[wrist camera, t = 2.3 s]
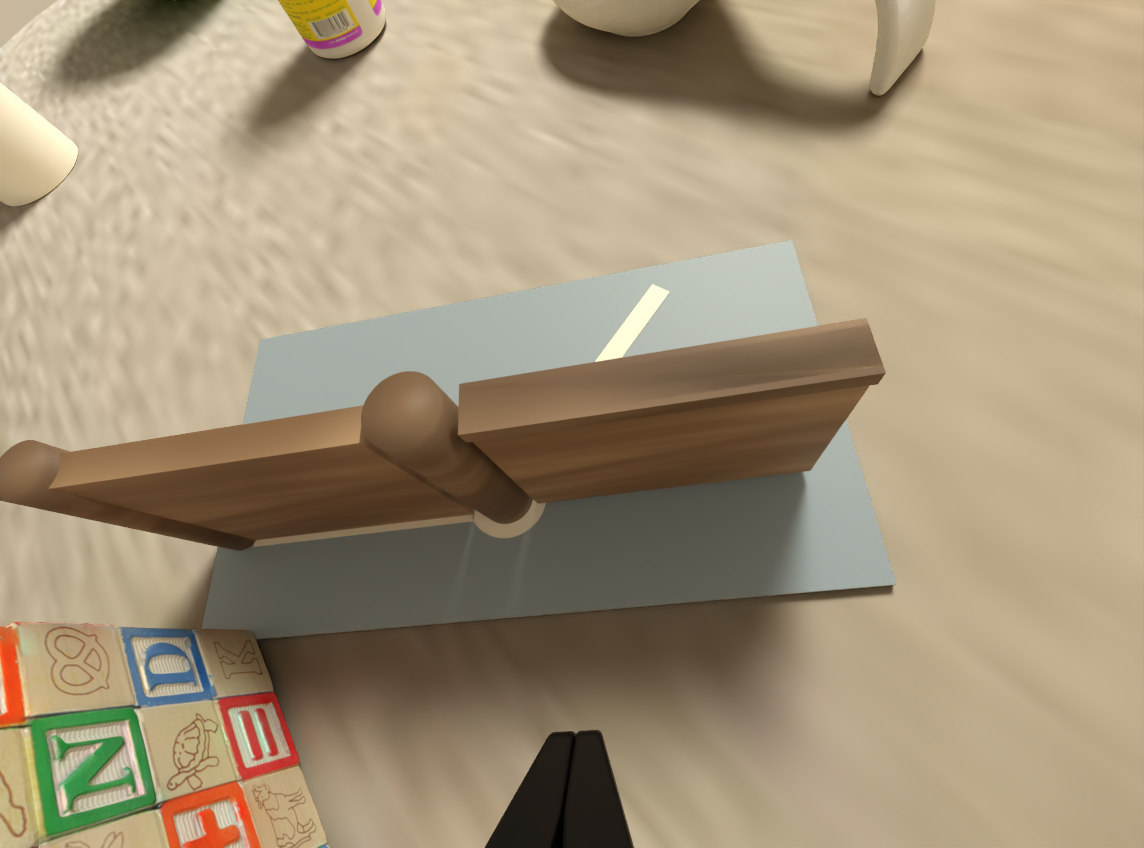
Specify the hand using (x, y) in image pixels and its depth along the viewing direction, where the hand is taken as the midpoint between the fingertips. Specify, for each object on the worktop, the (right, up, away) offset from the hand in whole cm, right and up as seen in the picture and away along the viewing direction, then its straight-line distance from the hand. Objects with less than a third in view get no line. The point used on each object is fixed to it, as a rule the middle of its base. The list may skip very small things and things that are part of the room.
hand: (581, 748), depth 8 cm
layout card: (-3, +5, +16) cm, 17 cm away
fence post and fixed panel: (-9, +1, +16) cm, 18 cm away
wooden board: (+4, +3, +13) cm, 14 cm away
